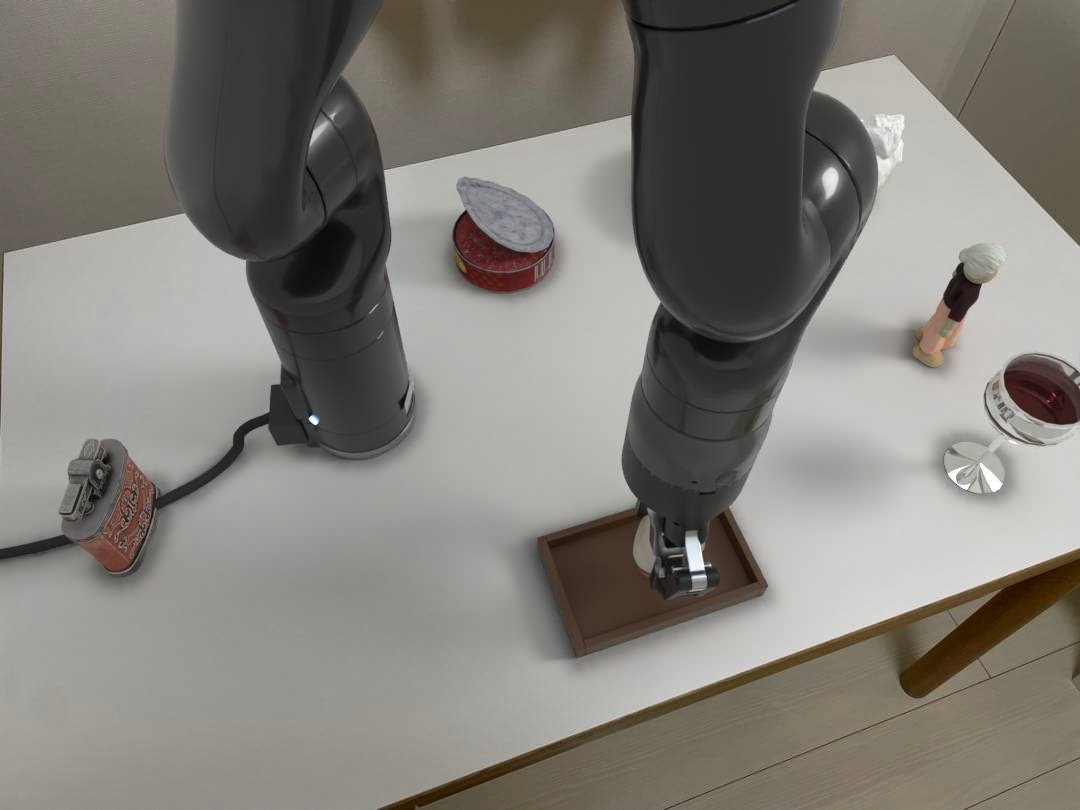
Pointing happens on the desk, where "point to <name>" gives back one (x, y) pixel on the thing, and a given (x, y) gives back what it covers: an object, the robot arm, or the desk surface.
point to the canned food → (501, 238)
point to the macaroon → (644, 548)
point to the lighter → (109, 506)
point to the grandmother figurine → (957, 301)
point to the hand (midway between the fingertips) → (657, 547)
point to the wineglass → (1019, 416)
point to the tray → (636, 580)
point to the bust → (886, 142)
